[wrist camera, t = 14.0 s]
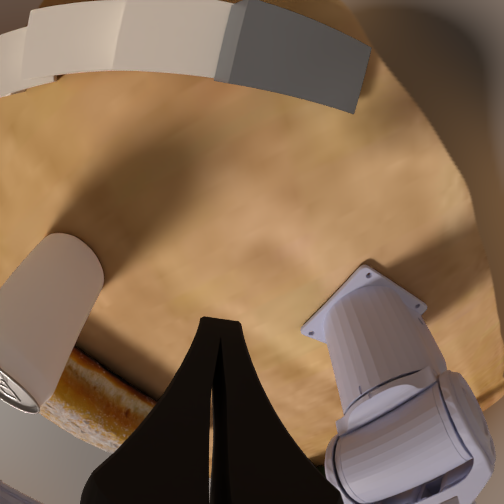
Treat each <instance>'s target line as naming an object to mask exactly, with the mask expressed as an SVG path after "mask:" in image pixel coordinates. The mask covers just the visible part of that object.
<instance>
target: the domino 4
mask: <svg viewBox="0 0 504 504" xmlns="http://www.w3.org/2000/svg"><path fill="white" fill-rule="evenodd" d="M370 53H371V47H369V46H368V45H366V44H364V43H362V42H360V41H358V40H356V39H354V38H352V37H350V36H348V35H346V34H344V33H342V32H340V31H338V30H336V29H334V28H331V27H329V26H327V25H325V24H322V23H320V22H318V21H315V20H313V19H311V18H308V17H306V16H303V15H300V14H298V13H295V12H292V11H290V10H287V9H284V8H281V7H278V6H275V5H272V4H269V3H266V2H263V1H259V0H242V1H240V2H238V3H235V4H233V5H232V6H231V10H230V13H229V17H228V21H227V25H226V29H225V33H224V37H223V42H222V46H221V50H220V54H219V59H218V63H217V68H216V73H215V77H214V81H218V82H224V83H230V84H236V85H241V86H247V87H252V88H257V89H262V90H267V91H272V92H276V93H280V94H285V95H289V96H293V97H297V98H301V99H305V100H308V101H312V102H316V103H319V104H323V105H326V106H329V107H333V108H336V109H339V110H342V111H345V112H349V113H352V114H354V112H355V109H356V105H357V102H358V98H359V95H360V91H361V87H362V84H363V80H364V76H365V72H366V68H367V64H368V61H369V57H370Z"/></svg>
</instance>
